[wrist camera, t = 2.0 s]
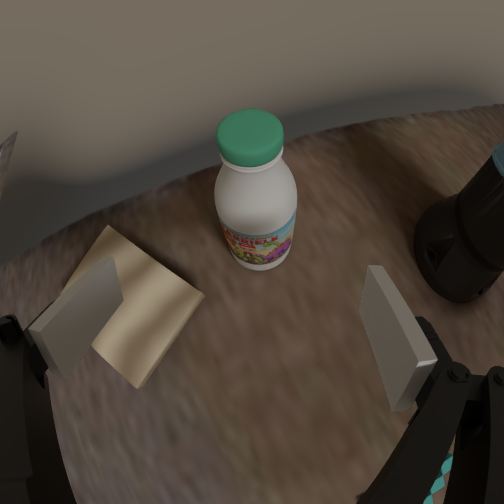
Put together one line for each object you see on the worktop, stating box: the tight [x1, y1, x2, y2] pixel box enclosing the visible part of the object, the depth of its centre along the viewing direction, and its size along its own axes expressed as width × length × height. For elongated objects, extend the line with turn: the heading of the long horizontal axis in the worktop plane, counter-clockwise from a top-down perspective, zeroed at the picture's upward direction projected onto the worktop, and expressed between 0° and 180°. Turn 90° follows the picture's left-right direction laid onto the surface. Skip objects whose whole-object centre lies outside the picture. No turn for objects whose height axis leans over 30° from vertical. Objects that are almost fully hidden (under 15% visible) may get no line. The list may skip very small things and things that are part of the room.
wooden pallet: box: [58, 225, 205, 389], centre depth 32 cm, size 16×13×4 cm
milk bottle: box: [214, 109, 297, 271], centre depth 27 cm, size 8×8×20 cm
